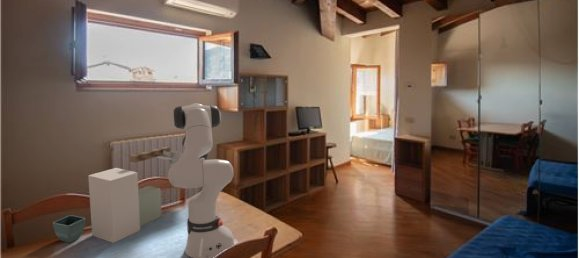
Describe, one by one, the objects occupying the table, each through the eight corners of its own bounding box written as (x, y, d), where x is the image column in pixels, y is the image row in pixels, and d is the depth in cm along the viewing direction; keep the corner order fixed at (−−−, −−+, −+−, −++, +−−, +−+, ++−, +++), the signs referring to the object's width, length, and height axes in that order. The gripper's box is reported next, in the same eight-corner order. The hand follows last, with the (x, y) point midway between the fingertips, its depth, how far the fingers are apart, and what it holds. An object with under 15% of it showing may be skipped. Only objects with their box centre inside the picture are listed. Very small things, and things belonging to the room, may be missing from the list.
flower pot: (87, 236, 158) (85, 217, 157) (70, 245, 150) (68, 225, 149) (71, 233, 161) (69, 214, 159) (53, 242, 152) (51, 222, 151)
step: (149, 213, 185) (148, 185, 182) (161, 216, 182) (160, 188, 179) (125, 224, 172) (124, 194, 169) (137, 227, 168) (135, 197, 166)
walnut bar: (165, 152, 187) (164, 146, 186) (170, 153, 186) (169, 147, 185) (129, 161, 168) (129, 155, 167) (135, 162, 166) (135, 156, 166)
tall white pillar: (119, 223, 172) (116, 167, 167) (139, 230, 166) (137, 172, 161) (92, 235, 160) (88, 175, 155) (113, 242, 154) (110, 180, 149)
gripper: (164, 151, 198) (146, 142, 186) (192, 156, 189) (176, 148, 177) (160, 161, 196) (142, 154, 184) (188, 167, 187) (171, 159, 176)
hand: (159, 151), depth 181 cm, fingers closed on walnut bar, 3 cm apart
